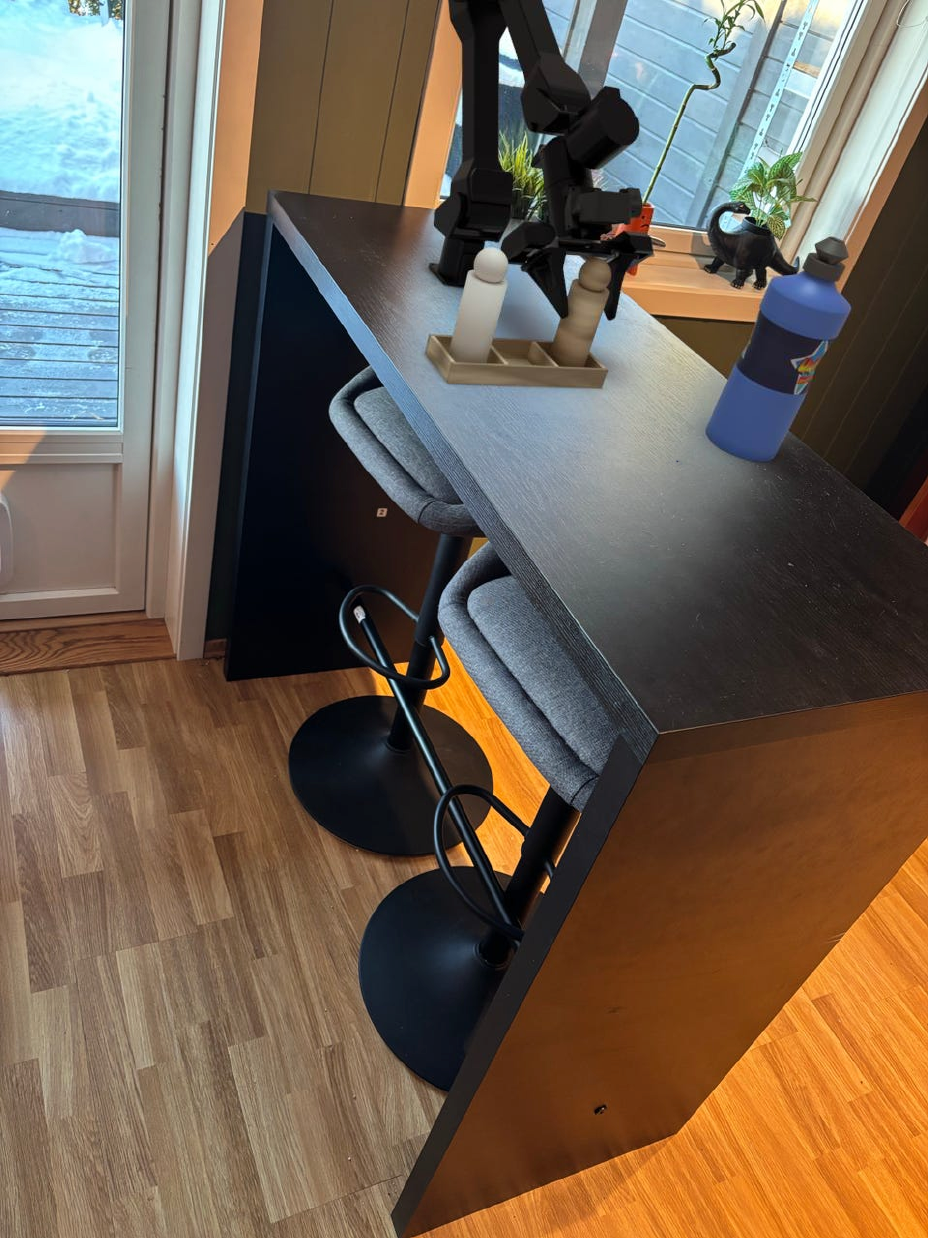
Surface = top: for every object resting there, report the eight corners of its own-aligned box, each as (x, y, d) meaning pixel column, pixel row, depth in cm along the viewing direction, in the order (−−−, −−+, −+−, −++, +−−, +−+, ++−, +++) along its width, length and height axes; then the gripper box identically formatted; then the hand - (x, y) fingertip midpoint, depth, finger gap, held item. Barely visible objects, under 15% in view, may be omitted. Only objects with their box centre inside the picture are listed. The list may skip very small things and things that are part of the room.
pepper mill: (541, 360, 120) (577, 248, 111) (575, 366, 121) (613, 255, 112) (548, 377, 116) (585, 262, 108) (583, 383, 118) (623, 270, 109)
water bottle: (789, 453, 118) (892, 254, 103) (752, 469, 112) (856, 260, 97) (728, 417, 123) (819, 221, 107) (690, 430, 117) (780, 224, 101)
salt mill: (439, 358, 113) (468, 238, 104) (474, 360, 115) (504, 242, 106) (454, 377, 110) (485, 255, 101) (489, 378, 112) (522, 258, 103)
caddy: (423, 359, 114) (429, 333, 112) (572, 365, 123) (580, 342, 121) (446, 389, 109) (453, 363, 107) (599, 393, 118) (608, 370, 116)
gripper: (542, 145, 102) (563, 289, 102) (674, 164, 111) (694, 296, 111) (489, 193, 111) (509, 325, 111) (615, 207, 120) (633, 329, 120)
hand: (588, 318), depth 113 cm, fingers open, 7 cm apart
